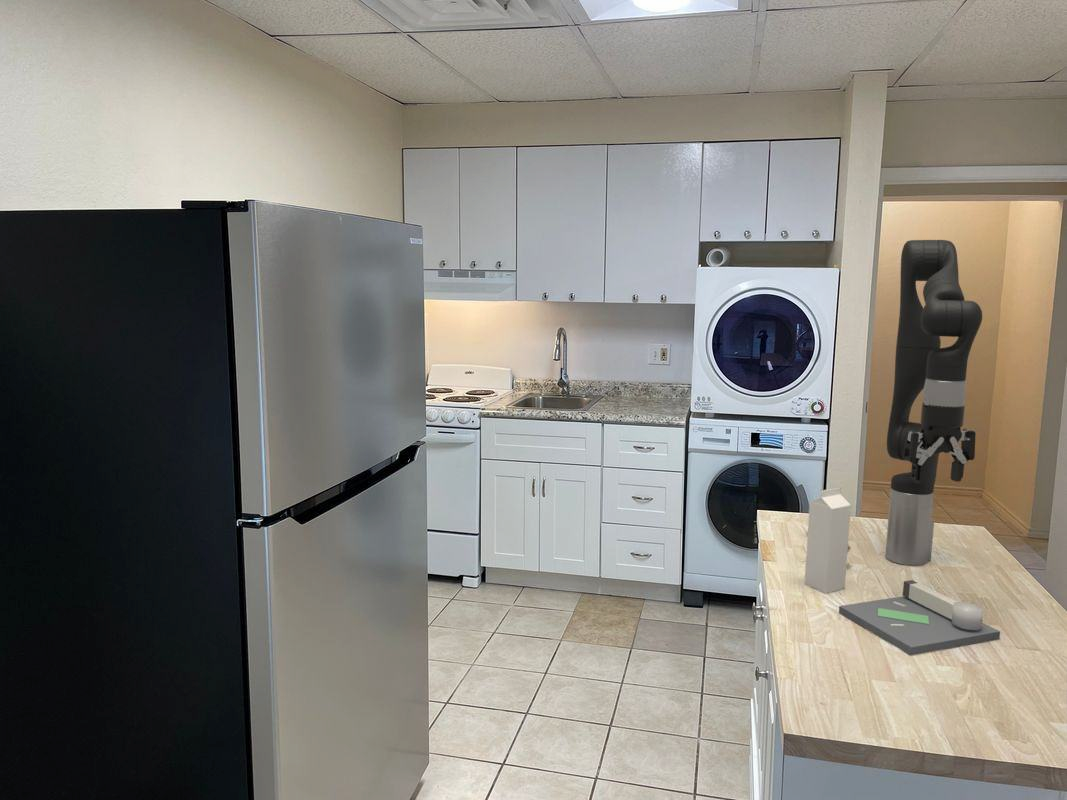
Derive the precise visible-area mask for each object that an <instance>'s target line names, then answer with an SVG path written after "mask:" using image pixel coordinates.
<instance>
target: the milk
mask: <svg viewBox="0 0 1067 800" xmlns="http://www.w3.org/2000/svg"><path fill="white" fill-rule="evenodd" d="M851 506H852V504H850V503H849V502H848V501H847V499H846V498H845V497H844V496H843V495H842V494H841V487H834V488H830V489H823V490H821V492H820V497H818V498H816V499H814V500H811V501H809V508H808V511H809V512H808V527H807V542H806V556H805V569H804V570H805V574H804V585H805V586H808V587H810V588H811V589H814V590H817V591H819V592H822V593H823V594H829V593H833V592H837V591H841V590H844V589H845V588H846V577H847V575H846V574H847V561H848V553H847V551H848V546H849V545H848V544H849V535H850V533H849V532H850V523H851V522H850V521H851V508H852V507H851Z"/></svg>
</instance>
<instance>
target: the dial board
mask: <svg viewBox="0 0 1067 800" xmlns="http://www.w3.org/2000/svg"><path fill="white" fill-rule="evenodd" d="M838 614H839V615H841V616H843V617H845V619H849V620H850V621H852V622H853V623H855V624H856V625H859V626H861V627H862V628H864V629H865V630H867V631H869V632H870V633H872V634H874V635H875V636H877V637H879V638H881V639H882V640H885V642H887V643H889V644H891V645H893V646H894V647H896V648H898V649H899V650H901V651H903V652H904V653H906V654H908V655H910V656H914V655H919V654H926V653H930V652H935V651H941V650H948V649H952V648H958V647H962V646H967V645H968V646H969V645H973V644H980V643H984V642H985V643H986V642H989V641H990V642H991V641H996V640H1000V638H1001V630H998V629H996V628H994V627H992V626H990V625H988V624H986V623H984V622H982V628H981V629H979V630H967V629H963V628H959V627H957V626H955V625H954V624H953V623H952V620H951V619H949V618H947V617H945V616H943V615H941V614H939V613H937V612H935V611H933V610H931V609H929V608H927V607H925V606H923V605H921V604H919V603H917V602H915V601H913V600H911V599H909V598H907V597H905V596H903V595H902V596H896V597H888V598H882V599H877V600H876V599H875V600H871V601H870V600H869V601H864V602H863V601H862V602H856V603H851V604H844V605H839V607H838Z"/></svg>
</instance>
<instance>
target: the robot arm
mask: <svg viewBox="0 0 1067 800" xmlns="http://www.w3.org/2000/svg"><path fill="white" fill-rule="evenodd" d="M959 277H960V276H959V261H958V253H957V249H956V247H955V244H954V243H953V242H952V241H950V240H945V239H911V240H907V241H906V242H905V243H904V245H903V247H902V250H901V256H900V283H899V284H900V288H899V289H900V293H899V294H900V297H899V301H900V303H899V315H898V316H899V317H898V318H899V319H898V328H897V329H898V330H897V336H896V347H895V359H894V360H895V361H894V383H893V393H892V394H893V395H892V401H891V402H892V403H891V409H890V415H889V421H888V429H887V435H886V450H887V454H888V456H889V457H890V458H892V459H896V460H900V461H906V462H910V463H911V471H910V472H909V471H908V472H902V473H898V474H895V475H893V476H892V477H891V480H890V493H889V504H888V505H889V507H888V519H887V527H886V528H887V530H886V544H885V553H884V555H885V558H886V559H887V560H889V561H891V562H894V563H896V564H899V565H907V566H922V565H926V564H927V563H928V562H931V560H932V550H933V539H934V530H935V529H934V528H935V524H934V522H933V521H932V515H933V514H932V513H933V502H934V491H935V483H936V479H937V473H938V472H937V471H938V465H939V457H940V453H945V454H949V455H950V458H951V459H952V461H951V467H950V468H951V469H950V470H951V471H950V480H951V481H954V482H956V483H957V482H961V481H962V479H963V477H964V470H965V464H966V463H967V462H968V461H973V460H975V456H976V455H975V454H976V431H975V430H970V429H967V428H964V429H962V430H961V428H962V427H963V426H964V418H965V407H966V396H967V395H966V394H967V387H966V380H967V370H968V360H969V357H970V353H971V349H972V346H973V343H974V341H975V338H976V336H977V334H978V332H979V330H980V327H981V324H982V321H983V310H982V308H981V306H980V305H979V304H978V303H977V302H976V301H974V300H965V296H964V294H963V293H964V292H963V291H962V288H961V286H960V283H959V281H960V278H959ZM917 282H925V284H924V285H923V289H922V295H923V301H924V303H925V305H924V306H923V305H922V302H921V300H920V298H919V295H918V292H917V291H918V290H917ZM941 337H946V338H947V337H952V338H957V340H956V341H955V342H954V343H953V344H952V345H950V346H947V347H946V346H945V347H941V346H942V345H941V342H942V341H941ZM921 392H922V400H921V401H922V404H921V411H920V412H921V415H920V422H913V421H910V415H911V410H912V407H913V404H914V402H915V401H916V399H917V398H918V396H919V395H920V393H921ZM960 440H961V441H960ZM959 441H960V442H961V443H960V444H961V446H960V445H959Z"/></svg>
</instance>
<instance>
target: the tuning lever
mask: <svg viewBox="0 0 1067 800" xmlns="http://www.w3.org/2000/svg"><path fill="white" fill-rule="evenodd" d="M902 586H903V587H902V596H905V597H907V598H909V599H911V600H913V601H915V602H917V603H919V604H921V605H923V606H925V607H927V608H929V609H931V610H933V611H935V612H937V613H939V614H941V615H943V616H945V617H947V618H949V619H951V620H952V623H953V624H954V625H955V626H957V627H959V628H963V629H967V630H979V629H981V628H982V623H983V617H984V608H983V607H982V606H981V605H979V604H976V603H973V602H968V601H957V600H954V599H952V598H950V597H948V596H945V595H944V594H942V593H940V592H937V591H935V590H933V589H931V588H929V587H926V586H925V585H923V584H921V583H918V582H917V581H915V580H913V579H910V580H904V581H903V585H902Z"/></svg>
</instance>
